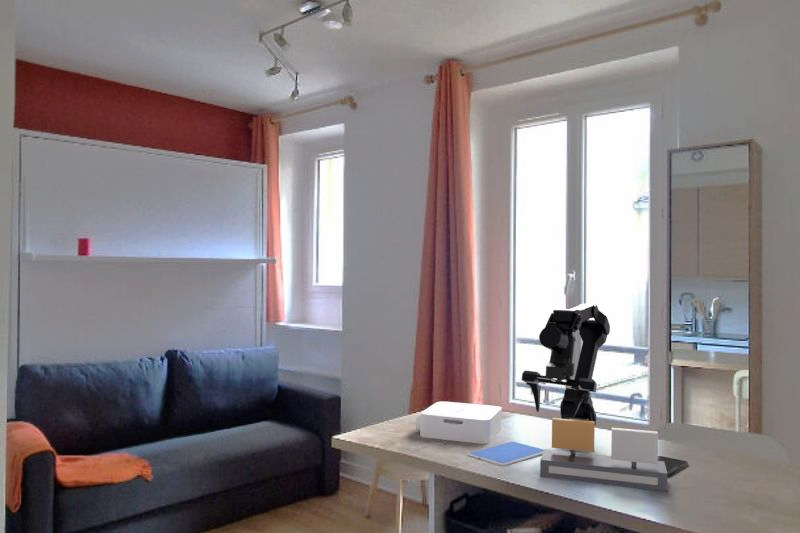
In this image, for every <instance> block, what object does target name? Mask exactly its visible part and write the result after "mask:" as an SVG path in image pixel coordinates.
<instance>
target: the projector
mask: <svg viewBox="0 0 800 533" xmlns="http://www.w3.org/2000/svg"><path fill="white" fill-rule="evenodd" d="M502 409H503V407H502V406H497V405H490V404H489V405H488V404H479V403H477V404H475V403H468V402H467V403H465V402H457V401H456V402H455V401H454V402H453V401H443V400H442V401H437V402H435V403H433V404H431V405H430V406H428V407H427V408H425V409H424V410H423V411H421V412H419V413H418V414H417V416H416V420H415V429H416V430H417V431H420V432H419V435H420V437H422V438H426V439H427V438H429V439H436V440H437V439H438V440H445V441H452V442H453V441H454V442H464V443H470V444H472V443H474V444H490V443H491V442H492V441H493V440H494V439H495V438H496V437H497V436H498V434H499V433H500V432H501V431H502V416H503V414H502V413H503V412H502ZM500 430H501V431H500ZM499 431H500V432H499ZM495 436H496V437H495Z"/></svg>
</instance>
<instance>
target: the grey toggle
mask: <svg viewBox="0 0 800 533" xmlns="http://www.w3.org/2000/svg"><path fill="white" fill-rule="evenodd" d="M658 445H659V433H658V431H656V430H655V431H654V430H645V429H644V430H642V429H632V428H621V427H611V447H610V448H611V454H610V456H611V460H620V461H630V462H632V466H636V462H639V463H649V464H658V456H659V452H658V450H659V447H658Z"/></svg>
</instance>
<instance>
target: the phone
mask: <svg viewBox="0 0 800 533" xmlns="http://www.w3.org/2000/svg"><path fill="white" fill-rule="evenodd" d="M658 461H664V463H665V466H666V470H667V478H671V477H672V476H673V475H675V474H677V473H678V472H680V471H682V470H684V469H685V468H686V467H688V466H689V462H688V461H687V460H684V459H683V460H682V459H678V458H673V457H667V456H662V455H658Z"/></svg>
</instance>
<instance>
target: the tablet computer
mask: <svg viewBox="0 0 800 533" xmlns="http://www.w3.org/2000/svg"><path fill="white" fill-rule="evenodd" d="M544 450H545V448H544V449H543V448H540V447H536V446H531V445H528V444H524V443H520V442H518V441H517V442H516V441H508V442H505V443H501V444H498V445H495V446H494V445H493V446H490V447H487V448H483V449H479V450H475V451H472V452H468V453H467V456H468V457H469V458H473V459H476V460H479V461H484V462H487V463H491V464H493V465H496V466H500V467H507V466H509V465H513V464H516V463H519V462H522V461H526V460H529V459H533V458H535V457H539V456H542V455H543V452H544Z"/></svg>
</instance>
